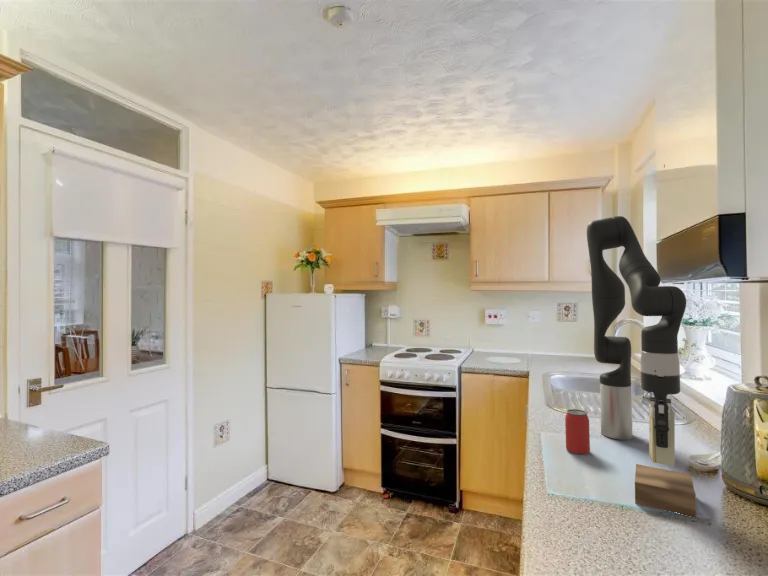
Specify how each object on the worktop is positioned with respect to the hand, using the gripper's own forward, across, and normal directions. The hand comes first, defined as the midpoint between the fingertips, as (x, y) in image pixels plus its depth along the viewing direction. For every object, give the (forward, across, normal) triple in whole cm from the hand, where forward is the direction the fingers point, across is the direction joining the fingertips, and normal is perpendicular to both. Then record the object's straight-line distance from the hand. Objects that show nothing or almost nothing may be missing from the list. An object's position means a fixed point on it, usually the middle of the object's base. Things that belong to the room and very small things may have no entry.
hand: (661, 441), depth 92 cm
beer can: (+14, -20, -21) cm, 32 cm away
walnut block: (+13, 0, 0) cm, 13 cm away
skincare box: (+4, 0, 0) cm, 4 cm away
